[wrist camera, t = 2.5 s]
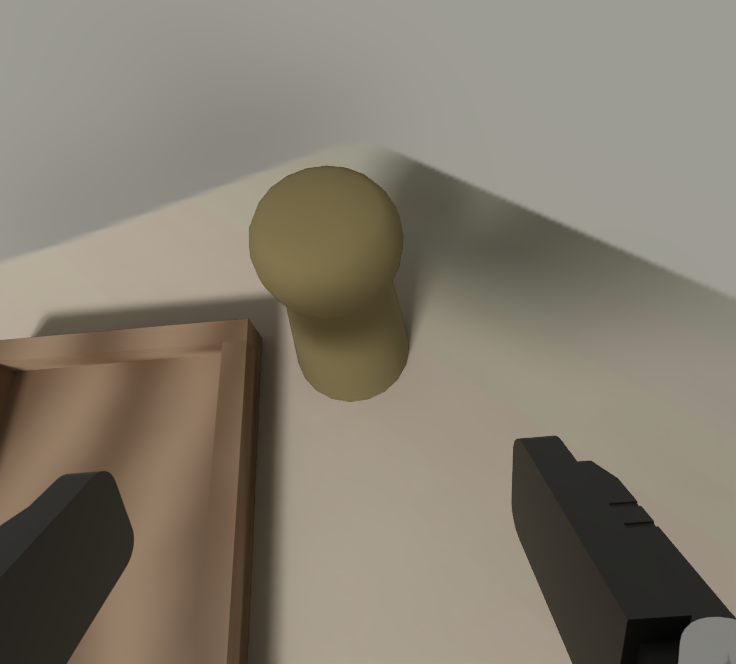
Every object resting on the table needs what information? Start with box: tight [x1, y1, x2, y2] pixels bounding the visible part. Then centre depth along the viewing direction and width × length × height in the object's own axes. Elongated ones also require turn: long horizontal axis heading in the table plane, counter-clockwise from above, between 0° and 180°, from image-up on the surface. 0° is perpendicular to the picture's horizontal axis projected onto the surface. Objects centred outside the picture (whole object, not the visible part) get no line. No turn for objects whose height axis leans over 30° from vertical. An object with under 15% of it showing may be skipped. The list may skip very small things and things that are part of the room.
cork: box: [249, 166, 409, 402], centre depth 18 cm, size 6×6×11 cm
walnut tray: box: [0, 319, 262, 664], centre depth 19 cm, size 14×18×2 cm
